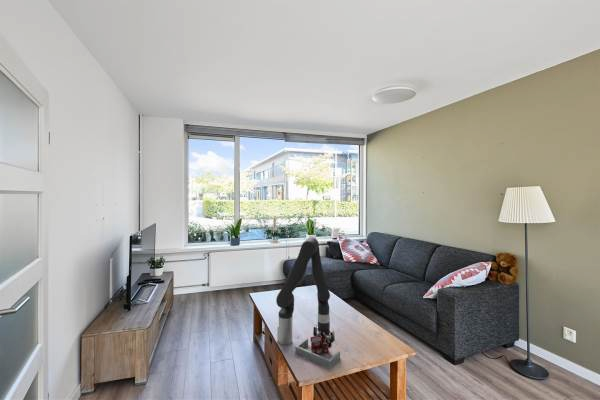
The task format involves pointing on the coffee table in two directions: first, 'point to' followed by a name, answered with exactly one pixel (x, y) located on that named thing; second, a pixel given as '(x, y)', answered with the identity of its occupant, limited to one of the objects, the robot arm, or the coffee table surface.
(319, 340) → the toy fire truck
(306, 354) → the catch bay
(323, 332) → the robot arm
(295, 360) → the coffee table surface
